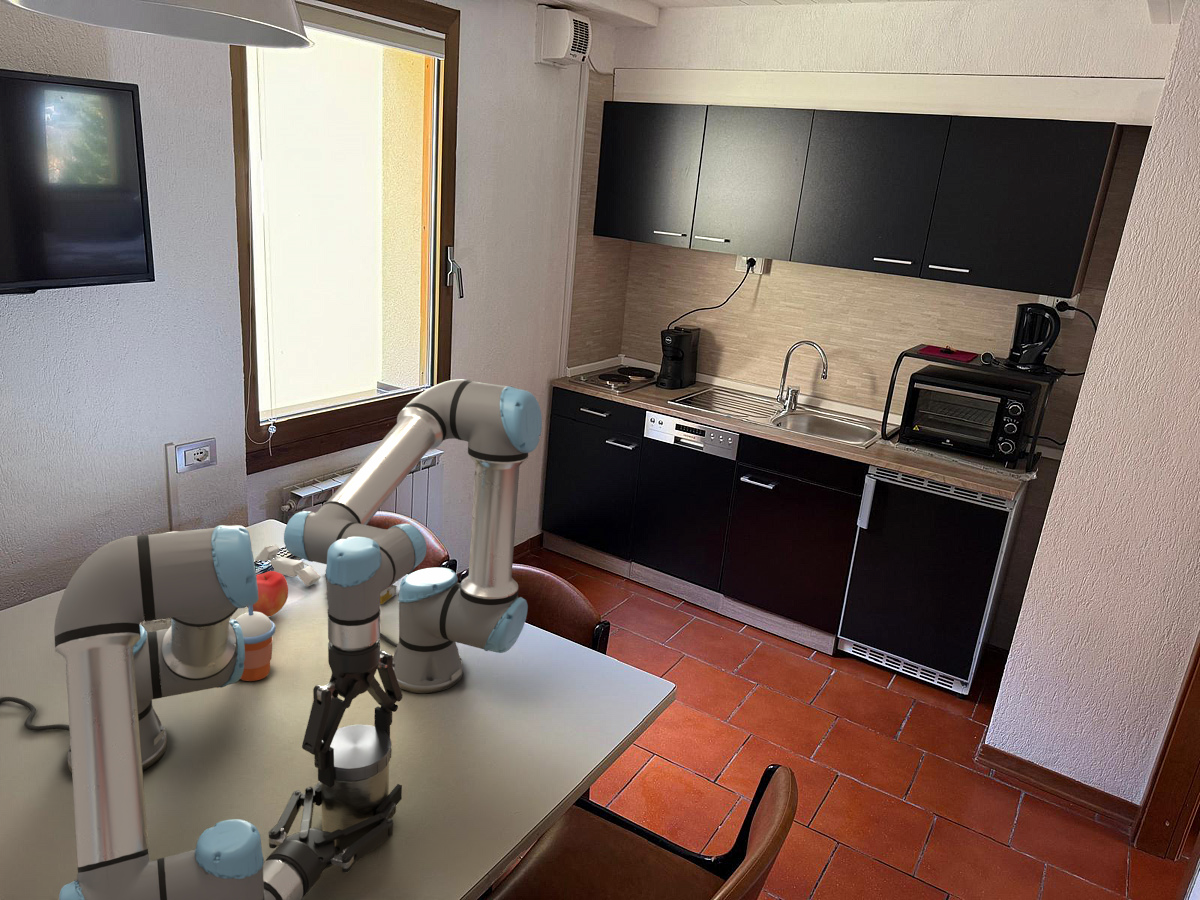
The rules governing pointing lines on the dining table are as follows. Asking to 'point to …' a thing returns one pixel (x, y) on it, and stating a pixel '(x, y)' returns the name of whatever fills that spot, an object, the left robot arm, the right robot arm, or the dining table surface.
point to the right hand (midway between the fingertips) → (355, 763)
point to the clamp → (288, 565)
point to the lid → (360, 752)
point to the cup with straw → (256, 644)
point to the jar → (353, 800)
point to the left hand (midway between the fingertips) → (369, 782)
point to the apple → (271, 593)
